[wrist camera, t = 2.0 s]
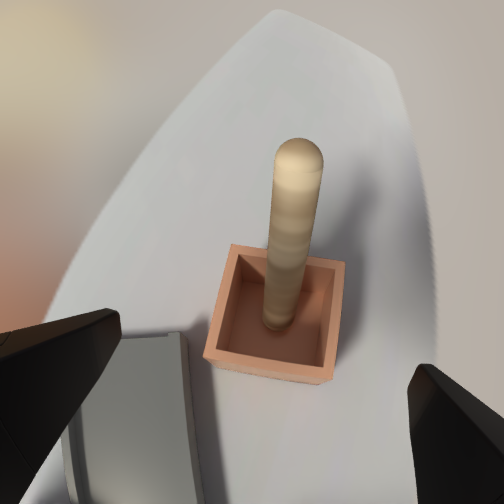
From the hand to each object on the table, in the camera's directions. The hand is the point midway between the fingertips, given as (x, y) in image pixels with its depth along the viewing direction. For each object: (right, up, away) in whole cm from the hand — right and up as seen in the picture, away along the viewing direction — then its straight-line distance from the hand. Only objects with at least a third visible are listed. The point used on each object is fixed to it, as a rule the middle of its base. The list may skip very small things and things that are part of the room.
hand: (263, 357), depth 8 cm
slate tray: (-9, -12, +9) cm, 18 cm away
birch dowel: (+2, 0, +14) cm, 14 cm away
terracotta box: (+1, -3, +14) cm, 14 cm away
